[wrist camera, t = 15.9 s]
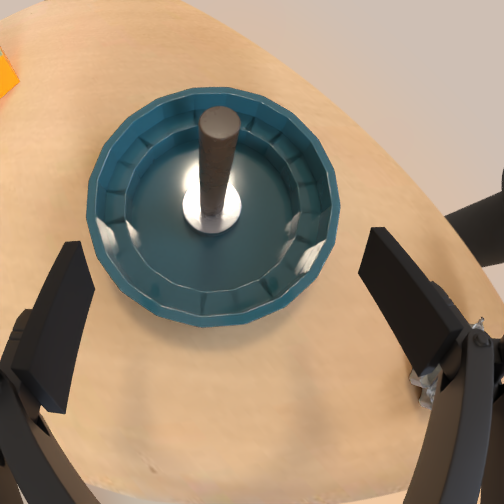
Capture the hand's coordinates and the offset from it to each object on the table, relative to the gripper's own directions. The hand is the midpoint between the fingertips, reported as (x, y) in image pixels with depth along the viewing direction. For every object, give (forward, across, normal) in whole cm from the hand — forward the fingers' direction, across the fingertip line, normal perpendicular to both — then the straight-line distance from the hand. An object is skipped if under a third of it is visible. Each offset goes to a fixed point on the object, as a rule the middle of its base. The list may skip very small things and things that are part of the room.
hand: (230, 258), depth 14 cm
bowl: (+14, 0, -5) cm, 15 cm away
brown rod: (+14, 0, -5) cm, 15 cm away
